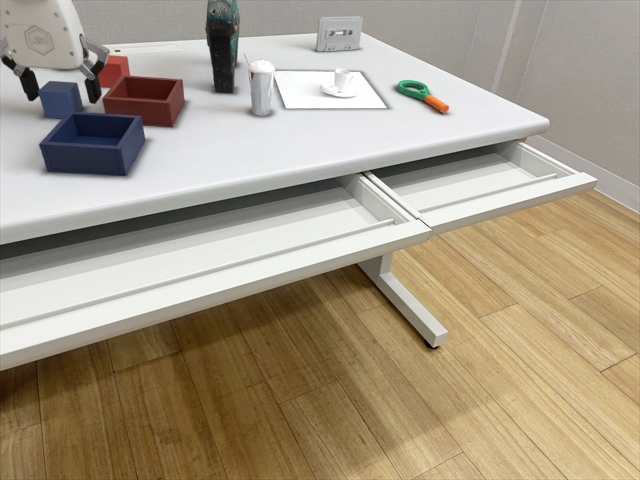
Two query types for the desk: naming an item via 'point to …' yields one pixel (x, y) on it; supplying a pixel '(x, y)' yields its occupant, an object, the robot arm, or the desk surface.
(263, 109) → the milkshake
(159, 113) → the red bin
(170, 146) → the desk surface
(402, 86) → the magnifying glass
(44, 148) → the blue bin
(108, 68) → the red block
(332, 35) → the cassette
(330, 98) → the teacup and saucer
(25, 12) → the robot arm
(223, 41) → the power drill
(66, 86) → the blue block
